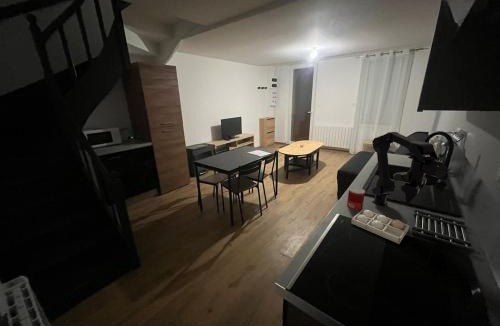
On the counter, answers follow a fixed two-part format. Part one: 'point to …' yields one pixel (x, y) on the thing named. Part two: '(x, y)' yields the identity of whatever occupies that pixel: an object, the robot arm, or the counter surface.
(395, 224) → the brown egg
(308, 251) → the counter surface
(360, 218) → the white egg
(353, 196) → the canned food
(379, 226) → the white egg
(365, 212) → the white egg
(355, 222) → the egg tray
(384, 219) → the white egg
